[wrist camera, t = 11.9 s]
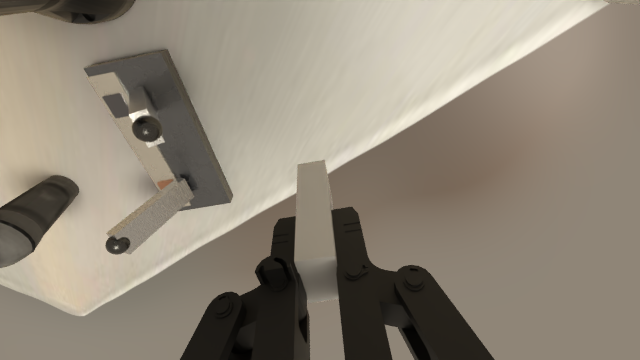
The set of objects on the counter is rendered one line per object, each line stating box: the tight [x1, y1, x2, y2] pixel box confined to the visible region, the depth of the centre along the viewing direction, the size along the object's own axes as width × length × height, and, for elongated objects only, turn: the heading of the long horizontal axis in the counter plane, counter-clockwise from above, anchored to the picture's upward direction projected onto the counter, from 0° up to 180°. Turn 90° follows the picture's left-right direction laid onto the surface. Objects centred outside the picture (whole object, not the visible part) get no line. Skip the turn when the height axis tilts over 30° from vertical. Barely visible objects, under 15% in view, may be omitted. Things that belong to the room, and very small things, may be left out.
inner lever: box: [129, 86, 165, 148], centre depth 32 cm, size 3×4×13 cm
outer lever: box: [106, 178, 195, 254], centre depth 40 cm, size 3×4×13 cm
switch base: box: [84, 50, 233, 211], centre depth 42 cm, size 10×24×3 cm, turn 10°
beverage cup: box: [0, 175, 79, 268], centre depth 39 cm, size 7×7×20 cm
